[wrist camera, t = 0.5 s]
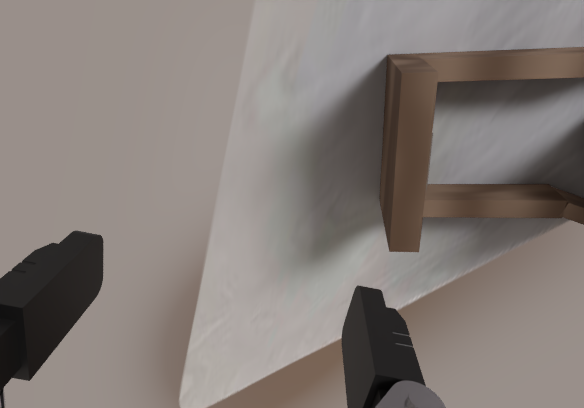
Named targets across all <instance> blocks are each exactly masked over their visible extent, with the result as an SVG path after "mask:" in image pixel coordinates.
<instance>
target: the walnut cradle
mask: <svg viewBox="0 0 584 408" xmlns="http://www.w3.org/2000/svg"><path fill="white" fill-rule="evenodd" d="M581 77H584V47H572V48H546V49H521V50H496V51H470V52H445V53H419V54H394V55H387V71H386V90H385V108H384V127H383V146H382V165H381V183H380V205H381V210H382V215H383V221H384V226H385V231H386V236H387V242H388V247H389V252H419V247H420V238H421V229H422V220H423V217H481V218H562V217H564V218H567V219H569V220H572V221H575V222H578V223H581V224H584V198H582V197H580V196H577V195H574V194H571V193H568V192H565V191H563V190H560V189H557V188H554V187H552V186H550V185H549V184H427V183H428V174H429V165H430V156H431V147H432V138H433V133H432V128H433V119H434V110H435V101H436V92H437V83H438V82H452V81H484V80H517V79H549V78H581Z"/></svg>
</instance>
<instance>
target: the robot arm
mask: <svg viewBox="0 0 584 408" xmlns="http://www.w3.org/2000/svg"><path fill="white" fill-rule="evenodd" d="M102 281H103V238H102V236H101V235H97V234H91V233H86V232H81V231H73V232H72V233H71V234H69V235H68V236H67V237H66V238H65V239H64V240H63V241H61V242H60V243H59V244H56V243H51V244H49V245H47V246H44V247H42V248H40V249H37V250H35V251H34V252H32V253H31V254H30V255H29V256H27V257H26V258H25V259H24V260H23V261H22V263H19V264H18V265H17V266H15V267H14V268H13V269H12V271H9V272H8V273H7V274H5V275H4V276H3V277H2V278H0V408H5V396H4V386H5V385H6V384H7V383H8V382H9V380H10V379H11V378H17V379H23V380H28V381H30V380H31V379H32V377H33V376H34V375H35V373H36V372H37V371H38V370H39V369H40V367H41V366H42V365H43V363H44V362H45V361H46V360H47V358H48V357H49V356H50V355H51V353H52V352H53V351H54V350H55V348H56V347H57V346H58V344H59V343H60V342H61V341H62V339H63V338H64V337H65V336H66V334H67V333H68V332H69V331H70V329H71V328H72V327H73V326H74V324H75V323H76V322H77V321H78V319H79V318H80V317H81V316H82V314H83V313H84V312H85V311H86V309H87V308H88V307H89V306H90V304H91V303H92V302H93V300H94V299H95V298H96V297H97V295H98V293H99V291H100V288H101V285H102ZM342 352H343V363H344V373H345V384H346V395H347V405H348V408H446V407H445V405H444V403H443V402H442V400H441V399H440V398H439V397H438V396H437V395H436V394H435V393H434V392H433V391H432V390H431V389H429V388H427V387H426V385H425V382H424V379H423V376H422V373H421V370H420V366H419V363H418V360H417V357H416V354H415V351H414V348H413V344H412V341H411V338H410V337H409V331H408V329H407V325H406V322H405V320H404V319H403V318H402V317H401V315H399V313H398V312H397V311H396V309H393V308H387V307H386V305H385V301H384V298H383V294H382V291H381V290H379V289H373V288H368V287H363V286H357V287H356V288H355V291H354V294H353V297H352V300H351V303H350V306H349V309H348V313H347V316H346V319H345V322H344V326H343V331H342Z"/></svg>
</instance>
